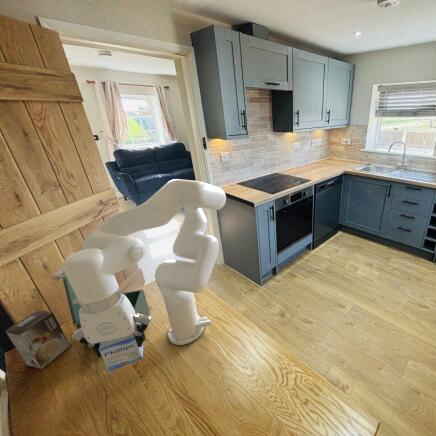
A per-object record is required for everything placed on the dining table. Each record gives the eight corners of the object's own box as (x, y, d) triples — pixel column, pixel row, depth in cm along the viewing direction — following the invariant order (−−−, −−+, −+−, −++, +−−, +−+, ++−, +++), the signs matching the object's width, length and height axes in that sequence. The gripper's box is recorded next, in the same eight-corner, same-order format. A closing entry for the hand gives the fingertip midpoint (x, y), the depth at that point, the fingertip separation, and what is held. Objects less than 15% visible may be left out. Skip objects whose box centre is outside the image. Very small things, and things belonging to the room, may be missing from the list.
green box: (148, 309, 102) (143, 289, 98) (141, 334, 90) (134, 313, 86) (100, 318, 97) (92, 297, 92) (85, 347, 85) (75, 324, 80)
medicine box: (108, 372, 62) (97, 350, 58) (111, 357, 66) (100, 336, 62) (143, 359, 66) (134, 337, 62) (143, 345, 69) (135, 324, 65)
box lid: (85, 256, 86) (65, 256, 84) (65, 278, 74) (42, 280, 72) (93, 296, 92) (75, 298, 90) (76, 323, 80) (55, 326, 79)
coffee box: (56, 342, 86) (39, 308, 80) (71, 345, 85) (54, 311, 79) (26, 366, 78) (3, 330, 72) (41, 370, 77) (20, 334, 71)
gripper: (46, 319, 50) (76, 370, 58) (139, 301, 56) (156, 350, 63) (64, 295, 57) (89, 344, 64) (145, 281, 62) (160, 327, 69)
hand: (122, 347), depth 64 cm, fingers closed on medicine box, 8 cm apart
